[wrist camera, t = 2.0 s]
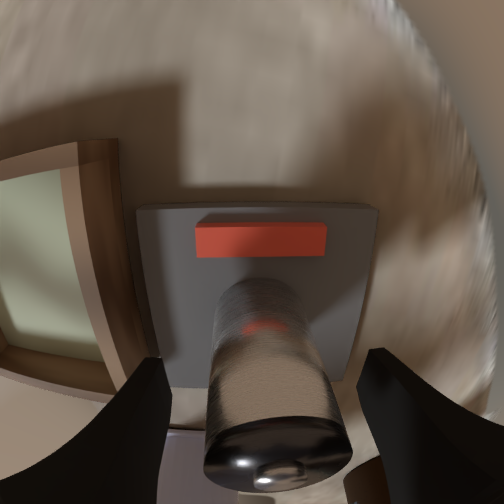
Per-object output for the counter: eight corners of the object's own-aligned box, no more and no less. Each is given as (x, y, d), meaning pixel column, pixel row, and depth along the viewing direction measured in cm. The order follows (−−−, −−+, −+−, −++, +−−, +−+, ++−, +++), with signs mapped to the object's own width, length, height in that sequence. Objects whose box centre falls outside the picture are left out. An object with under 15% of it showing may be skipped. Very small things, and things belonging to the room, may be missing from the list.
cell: (298, 346, 14) (336, 493, 6) (217, 349, 14) (211, 503, 6) (306, 276, 12) (377, 436, 5) (212, 278, 12) (191, 453, 5)
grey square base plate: (337, 368, 16) (345, 387, 15) (171, 374, 16) (166, 394, 14) (369, 204, 12) (384, 213, 11) (142, 204, 12) (130, 214, 10)
